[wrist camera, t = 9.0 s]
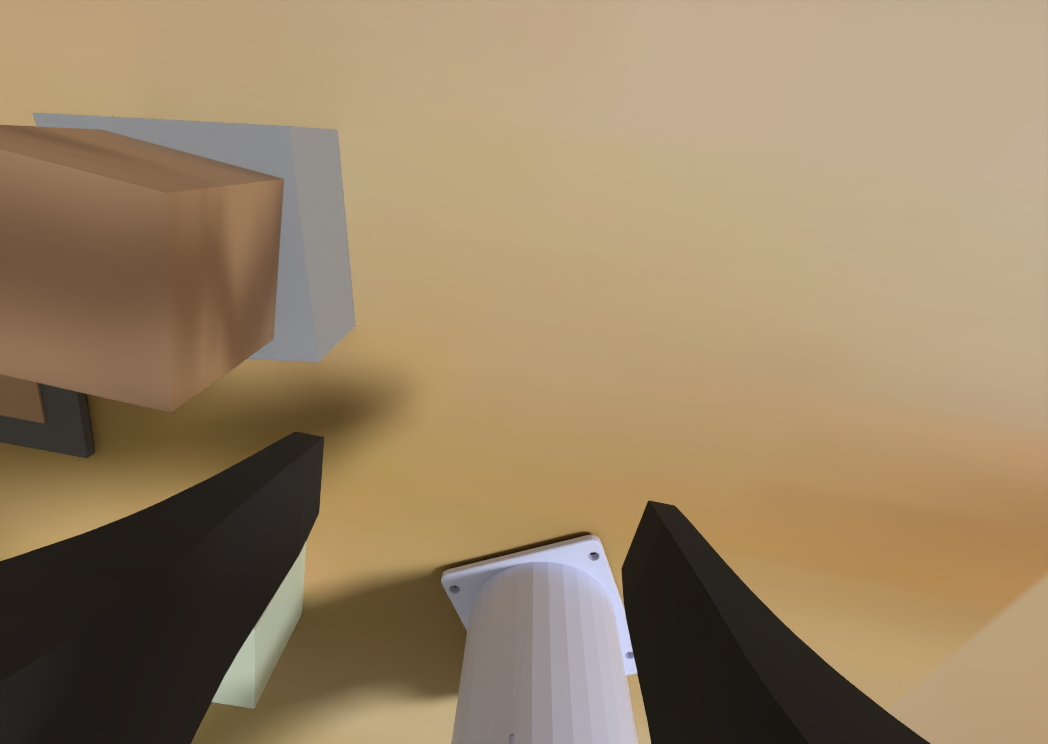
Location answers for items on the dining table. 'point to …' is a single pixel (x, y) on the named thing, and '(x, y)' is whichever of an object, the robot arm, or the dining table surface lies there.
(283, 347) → the slate base
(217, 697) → the sage block
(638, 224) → the dining table surface
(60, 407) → the card
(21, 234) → the walnut block
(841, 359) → the dining table surface
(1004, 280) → the dining table surface
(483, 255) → the dining table surface
